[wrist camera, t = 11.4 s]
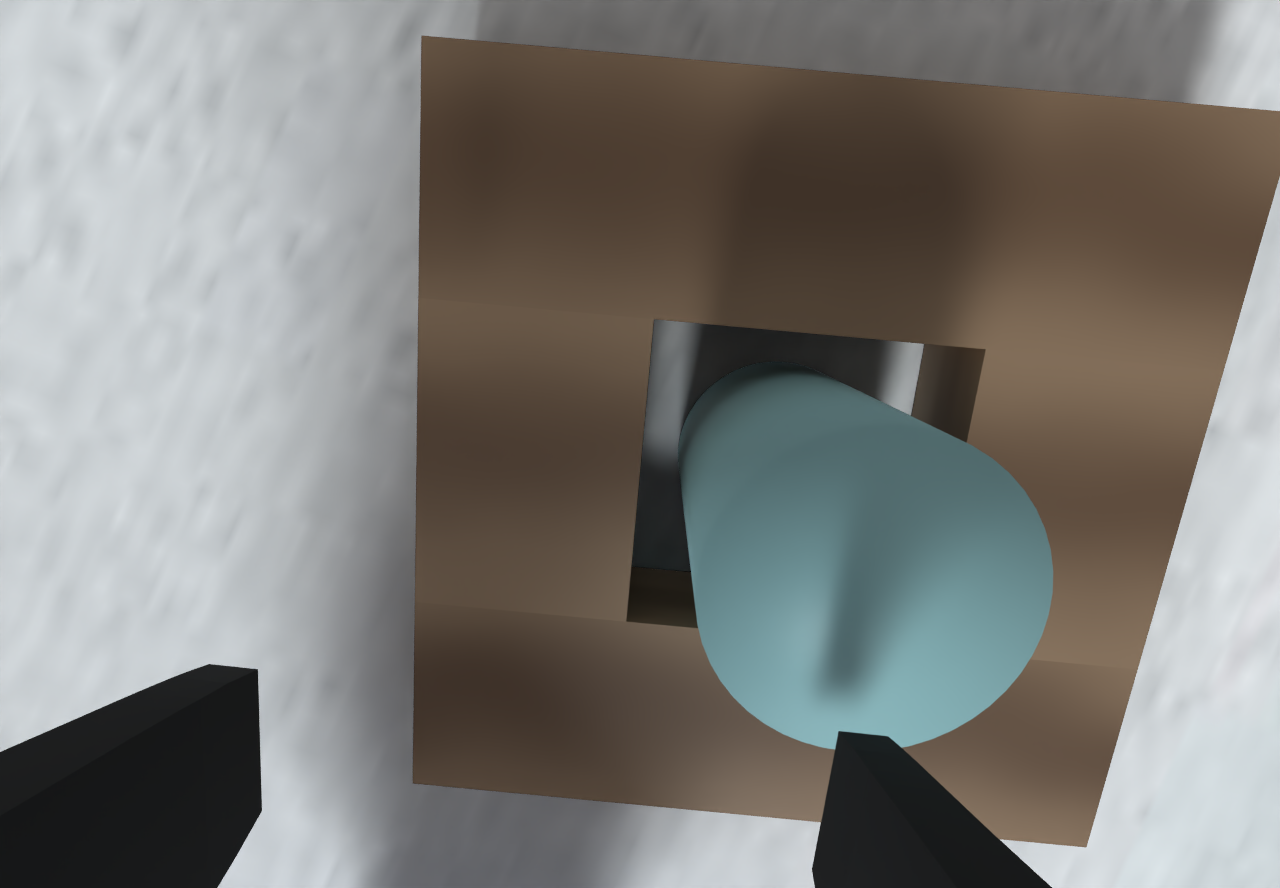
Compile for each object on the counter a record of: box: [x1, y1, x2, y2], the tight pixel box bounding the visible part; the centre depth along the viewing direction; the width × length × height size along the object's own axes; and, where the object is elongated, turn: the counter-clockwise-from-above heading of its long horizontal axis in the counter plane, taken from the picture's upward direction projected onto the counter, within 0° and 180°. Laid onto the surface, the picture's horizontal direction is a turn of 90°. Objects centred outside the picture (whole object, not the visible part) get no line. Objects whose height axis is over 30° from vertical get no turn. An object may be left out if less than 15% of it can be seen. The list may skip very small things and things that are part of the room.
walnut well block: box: [413, 36, 1280, 847], centre depth 15 cm, size 16×16×3 cm
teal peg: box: [678, 362, 1053, 749], centre depth 13 cm, size 5×5×8 cm
